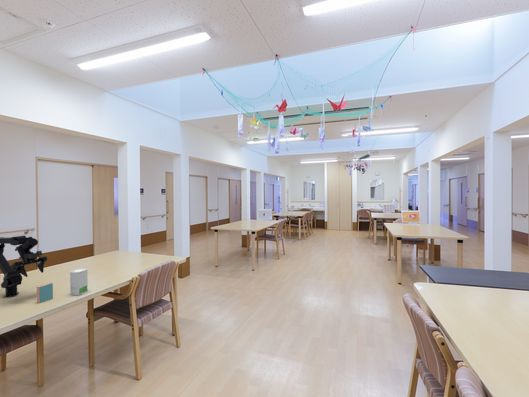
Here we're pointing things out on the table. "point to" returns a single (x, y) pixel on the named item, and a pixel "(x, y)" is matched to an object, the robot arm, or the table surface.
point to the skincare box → (78, 282)
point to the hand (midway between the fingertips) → (35, 274)
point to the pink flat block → (44, 292)
